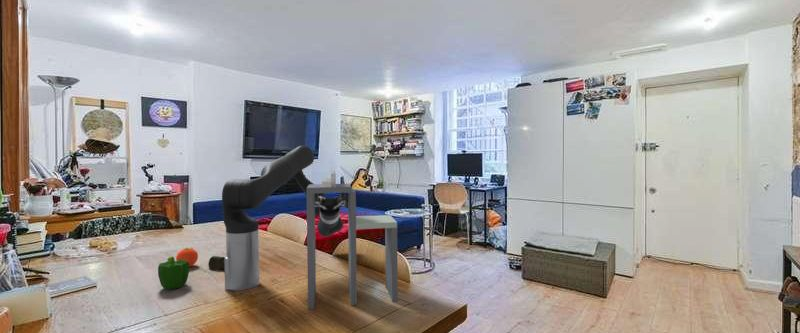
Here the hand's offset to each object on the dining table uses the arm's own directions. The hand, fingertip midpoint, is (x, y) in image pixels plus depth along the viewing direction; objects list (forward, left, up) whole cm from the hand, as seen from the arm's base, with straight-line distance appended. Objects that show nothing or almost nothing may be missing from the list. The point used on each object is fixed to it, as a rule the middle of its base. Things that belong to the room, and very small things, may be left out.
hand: (329, 193), depth 117 cm
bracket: (0, -16, +4) cm, 17 cm away
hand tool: (-35, +13, -28) cm, 47 cm away
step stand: (+6, -20, -28) cm, 35 cm away
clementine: (-52, +21, -28) cm, 62 cm away
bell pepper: (-48, -1, -28) cm, 55 cm away
